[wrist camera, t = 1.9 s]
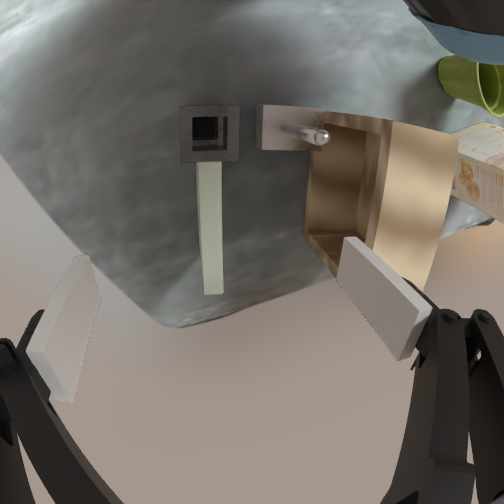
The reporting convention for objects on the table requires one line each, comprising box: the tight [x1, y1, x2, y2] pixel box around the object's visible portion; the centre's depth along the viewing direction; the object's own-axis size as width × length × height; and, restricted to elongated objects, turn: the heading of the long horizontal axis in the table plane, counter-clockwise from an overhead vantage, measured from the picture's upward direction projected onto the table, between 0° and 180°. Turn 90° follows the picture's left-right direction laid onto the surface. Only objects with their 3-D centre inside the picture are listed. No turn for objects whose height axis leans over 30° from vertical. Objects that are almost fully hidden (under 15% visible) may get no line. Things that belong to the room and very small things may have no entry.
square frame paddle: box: [180, 105, 240, 295], centre depth 26 cm, size 15×4×10 cm, turn 179°
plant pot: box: [438, 55, 504, 117], centre depth 25 cm, size 9×9×9 cm
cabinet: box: [255, 105, 460, 292], centre depth 26 cm, size 15×14×14 cm
